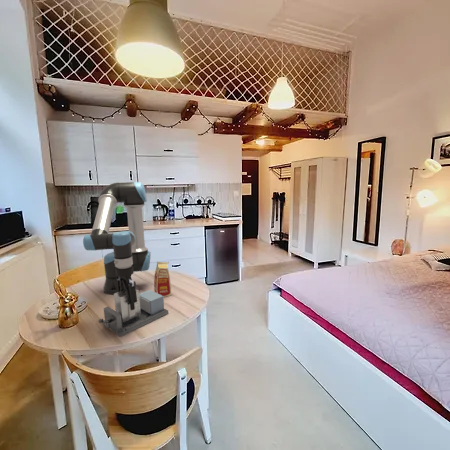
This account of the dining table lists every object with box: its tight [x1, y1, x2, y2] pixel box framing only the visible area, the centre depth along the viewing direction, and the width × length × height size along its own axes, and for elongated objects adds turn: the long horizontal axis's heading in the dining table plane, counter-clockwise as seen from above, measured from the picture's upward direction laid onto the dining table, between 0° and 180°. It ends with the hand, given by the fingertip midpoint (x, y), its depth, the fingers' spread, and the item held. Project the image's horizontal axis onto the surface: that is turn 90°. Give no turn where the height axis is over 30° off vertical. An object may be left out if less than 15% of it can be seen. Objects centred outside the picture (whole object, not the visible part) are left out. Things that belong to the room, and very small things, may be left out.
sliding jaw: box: [139, 289, 165, 315], centre depth 128 cm, size 12×8×7 cm, turn 49°
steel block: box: [113, 288, 141, 322], centre depth 119 cm, size 6×9×12 cm, turn 139°
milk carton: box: [153, 261, 172, 298], centre depth 148 cm, size 9×9×20 cm
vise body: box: [98, 306, 169, 338], centre depth 121 cm, size 16×29×8 cm, turn 139°
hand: (128, 313), depth 119 cm, fingers closed on steel block, 6 cm apart
